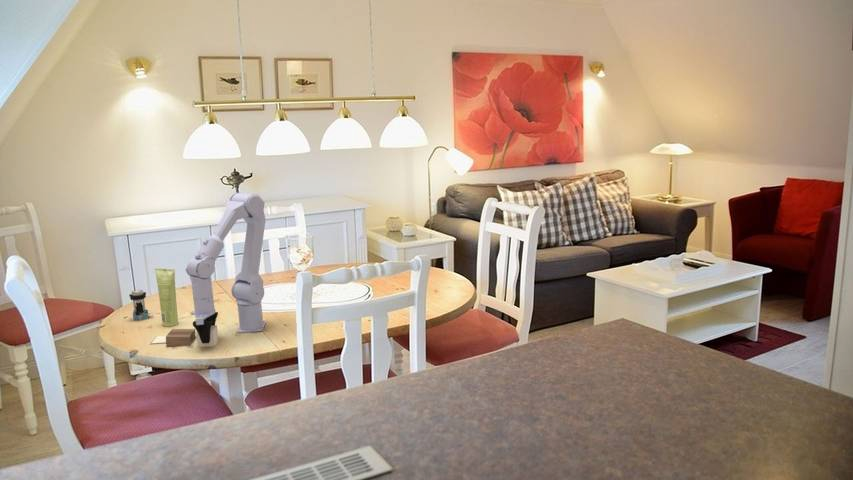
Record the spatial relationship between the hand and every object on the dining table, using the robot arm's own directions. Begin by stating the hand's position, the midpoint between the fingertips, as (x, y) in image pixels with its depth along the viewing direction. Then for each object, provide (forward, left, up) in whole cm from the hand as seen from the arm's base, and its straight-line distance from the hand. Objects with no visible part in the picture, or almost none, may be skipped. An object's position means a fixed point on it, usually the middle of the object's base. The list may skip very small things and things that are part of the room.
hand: (208, 339), depth 204 cm
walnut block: (-3, -9, -1) cm, 10 cm away
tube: (-21, -17, -2) cm, 27 cm away
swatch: (-6, -15, -1) cm, 16 cm away
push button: (-30, -29, -2) cm, 42 cm away
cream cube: (0, 0, -1) cm, 1 cm away
